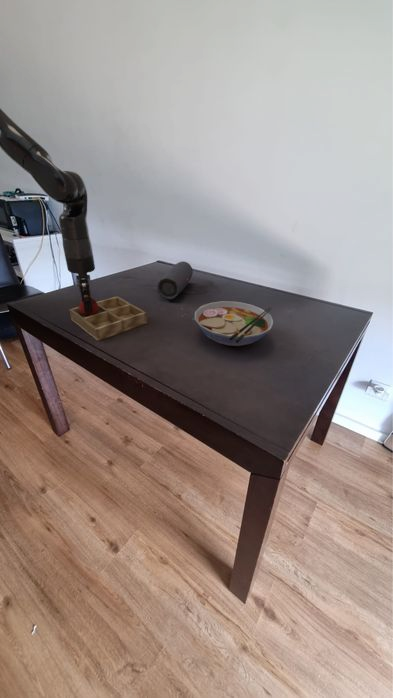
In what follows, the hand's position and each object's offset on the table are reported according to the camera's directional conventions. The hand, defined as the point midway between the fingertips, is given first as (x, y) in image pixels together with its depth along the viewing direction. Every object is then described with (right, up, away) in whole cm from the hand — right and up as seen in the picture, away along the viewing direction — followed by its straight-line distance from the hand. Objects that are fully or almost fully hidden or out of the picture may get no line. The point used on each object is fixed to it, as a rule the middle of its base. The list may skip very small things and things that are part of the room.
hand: (88, 307), depth 89 cm
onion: (0, -3, +2) cm, 4 cm away
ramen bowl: (+45, -10, -3) cm, 46 cm away
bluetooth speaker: (+26, +10, +27) cm, 39 cm away
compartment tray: (+6, -4, +3) cm, 8 cm away
